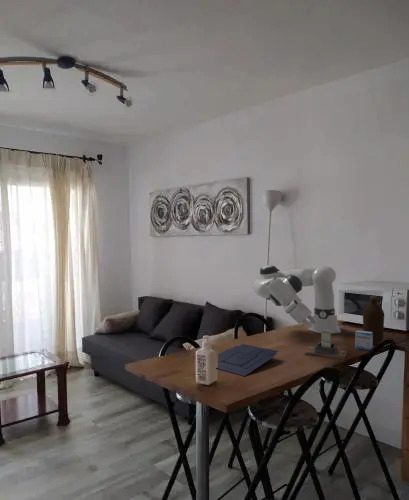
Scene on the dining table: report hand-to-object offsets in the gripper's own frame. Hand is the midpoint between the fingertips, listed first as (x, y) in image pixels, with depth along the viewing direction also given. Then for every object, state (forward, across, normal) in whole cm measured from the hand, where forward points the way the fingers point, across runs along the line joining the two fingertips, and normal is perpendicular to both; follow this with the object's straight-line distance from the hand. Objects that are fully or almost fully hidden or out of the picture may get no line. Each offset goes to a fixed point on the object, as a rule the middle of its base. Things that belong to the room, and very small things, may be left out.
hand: (313, 325), depth 195 cm
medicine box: (+25, -18, +6) cm, 31 cm away
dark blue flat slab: (-9, +29, -28) cm, 42 cm away
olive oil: (+28, -32, +9) cm, 43 cm away
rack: (+14, -1, -5) cm, 15 cm away
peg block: (+13, -1, -4) cm, 14 cm away
